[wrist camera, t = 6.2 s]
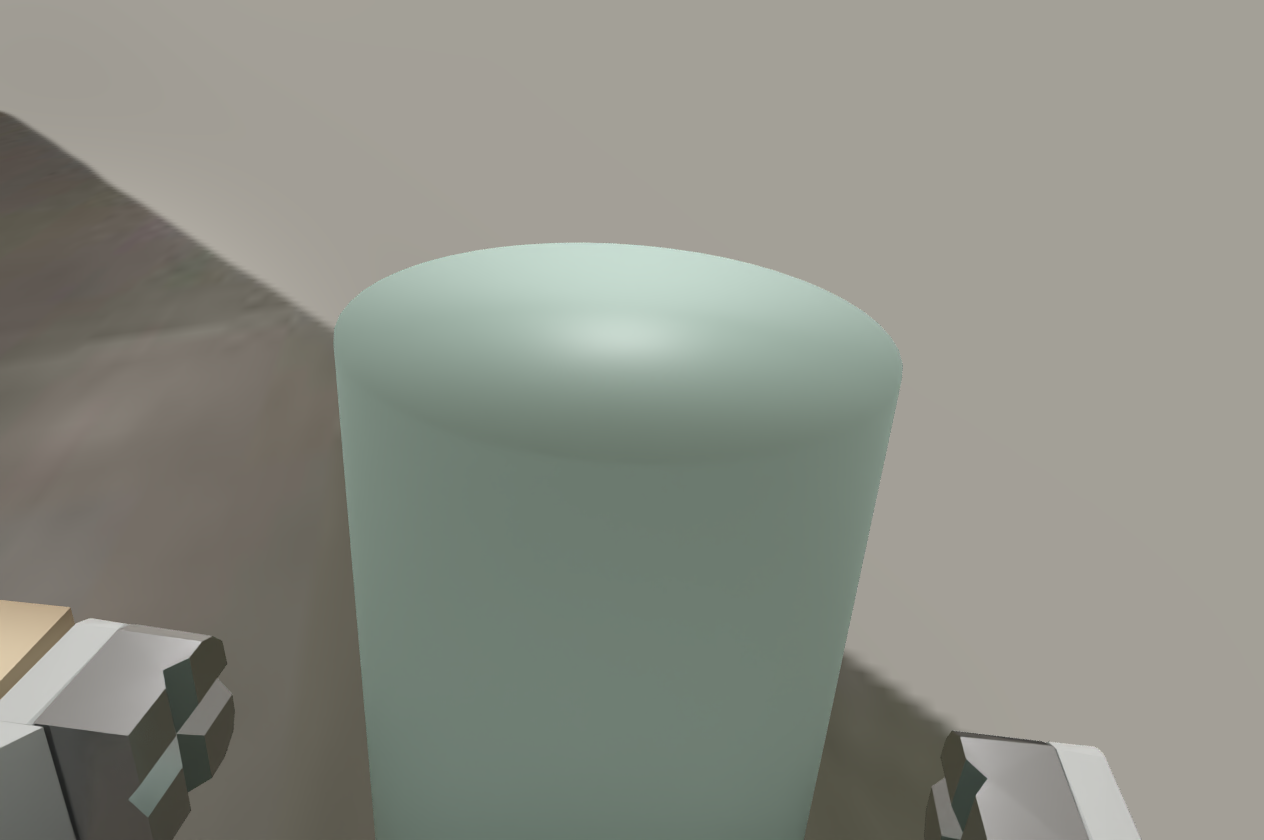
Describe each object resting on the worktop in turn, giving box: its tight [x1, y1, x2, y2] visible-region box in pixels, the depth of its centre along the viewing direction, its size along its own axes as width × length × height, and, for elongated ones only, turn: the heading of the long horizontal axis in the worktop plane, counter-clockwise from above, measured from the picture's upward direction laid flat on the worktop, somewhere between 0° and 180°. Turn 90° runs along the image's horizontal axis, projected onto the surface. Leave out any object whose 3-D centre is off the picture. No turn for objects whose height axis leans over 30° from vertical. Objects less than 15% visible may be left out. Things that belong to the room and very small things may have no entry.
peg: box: [334, 243, 903, 840], centre depth 10 cm, size 4×4×11 cm
